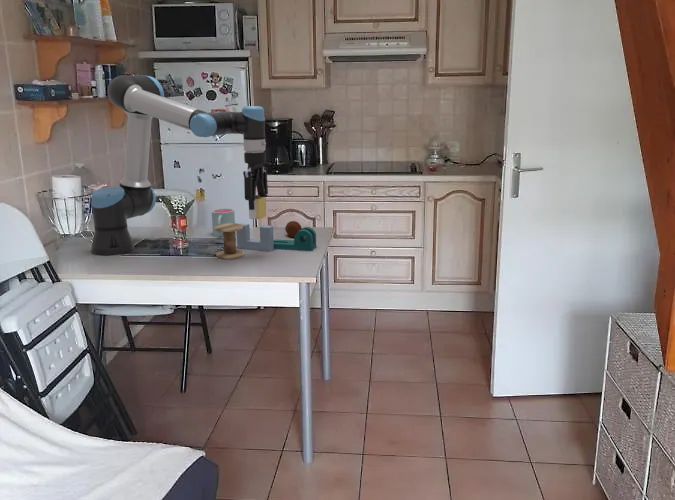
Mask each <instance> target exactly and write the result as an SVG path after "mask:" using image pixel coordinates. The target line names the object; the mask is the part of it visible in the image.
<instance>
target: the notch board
mask: <svg viewBox="0 0 675 500" xmlns="http://www.w3.org/2000/svg"><path fill="white" fill-rule="evenodd" d="M240 224H241V225H243V229H242V230H240V231H236V249H241V250H242V249H243V250H244V249H245V250H255V251H265V252H266V251H267V252H271V251H273V250H275V249H274V241H273V240H274V225H265V224H264V225H261V226H259V238H260V240H258V239H251V231H250V230H251V229H250V223H249V224H248V223H240Z"/></svg>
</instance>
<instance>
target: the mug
mask: <svg viewBox="0 0 675 500" xmlns="http://www.w3.org/2000/svg"><path fill="white" fill-rule="evenodd" d="M211 221H212V222H211V223H212V236H214V237H217V238H218V237H220V238H221V237H222V238H223V232H219V231H216V230H215V226H216V225H219V224H226V223H236V221H235V209H233V208H217V209H211Z"/></svg>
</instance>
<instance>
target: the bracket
mask: <svg viewBox="0 0 675 500" xmlns="http://www.w3.org/2000/svg"><path fill="white" fill-rule="evenodd" d="M301 228H302V229H301V230H300V231H298V232H297V233H296V234H295V236H294V237H293V239H294V240H293V239H273V241H274V249H273V250H285V251H287V250H288V251H304V252H305V251H306V252H313V251H314V249H315V248H317V233H316V231H315V230H314V229H313V228H312V227H311V226H304V227H301Z"/></svg>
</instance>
